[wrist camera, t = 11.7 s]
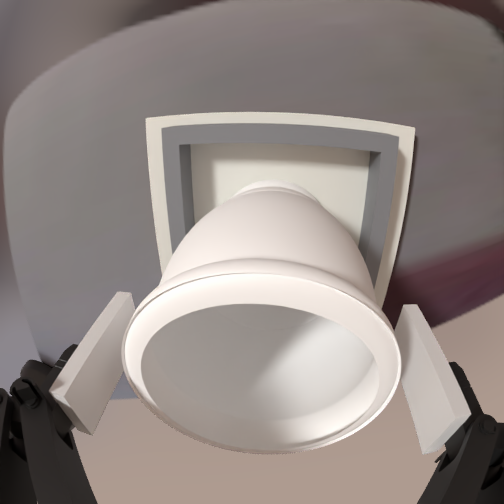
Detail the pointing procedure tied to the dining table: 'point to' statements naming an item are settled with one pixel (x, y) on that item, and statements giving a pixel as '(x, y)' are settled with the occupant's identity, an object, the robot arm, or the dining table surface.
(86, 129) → the dining table surface
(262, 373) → the jar
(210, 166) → the socket board
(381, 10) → the dining table surface
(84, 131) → the dining table surface
